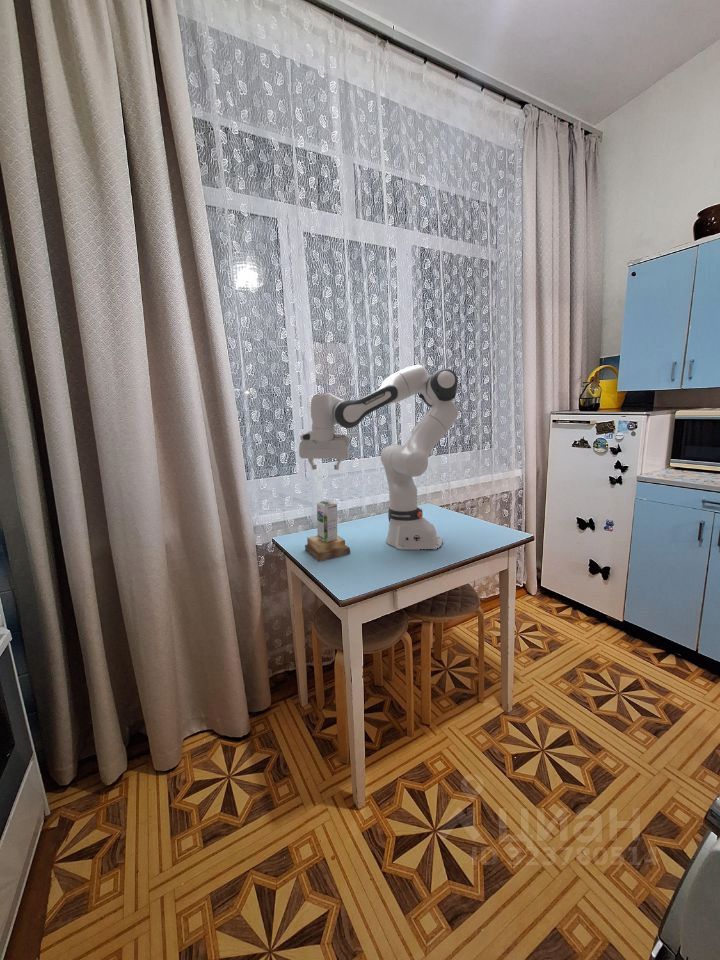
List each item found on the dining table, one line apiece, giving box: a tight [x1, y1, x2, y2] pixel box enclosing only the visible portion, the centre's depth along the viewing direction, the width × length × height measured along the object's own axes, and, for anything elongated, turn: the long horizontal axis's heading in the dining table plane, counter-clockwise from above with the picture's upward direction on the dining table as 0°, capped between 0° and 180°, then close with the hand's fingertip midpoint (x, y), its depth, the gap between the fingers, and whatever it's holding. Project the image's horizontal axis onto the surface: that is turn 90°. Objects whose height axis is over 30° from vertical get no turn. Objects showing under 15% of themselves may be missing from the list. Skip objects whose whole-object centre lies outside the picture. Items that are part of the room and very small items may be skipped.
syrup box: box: [316, 499, 338, 543], centre depth 148 cm, size 6×6×14 cm
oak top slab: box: [306, 534, 346, 554], centre depth 151 cm, size 11×11×3 cm
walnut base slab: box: [304, 543, 351, 562], centre depth 151 cm, size 13×13×3 cm
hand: (325, 469), depth 157 cm, fingers open, 8 cm apart
